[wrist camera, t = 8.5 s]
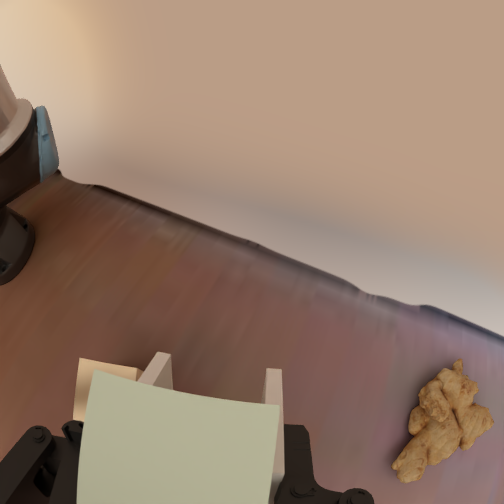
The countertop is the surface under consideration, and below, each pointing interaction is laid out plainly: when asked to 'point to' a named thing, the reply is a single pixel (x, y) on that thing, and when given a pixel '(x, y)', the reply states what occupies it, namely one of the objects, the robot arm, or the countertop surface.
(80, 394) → the slab upper
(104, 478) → the pale green block
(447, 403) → the ginger root
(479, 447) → the countertop surface
